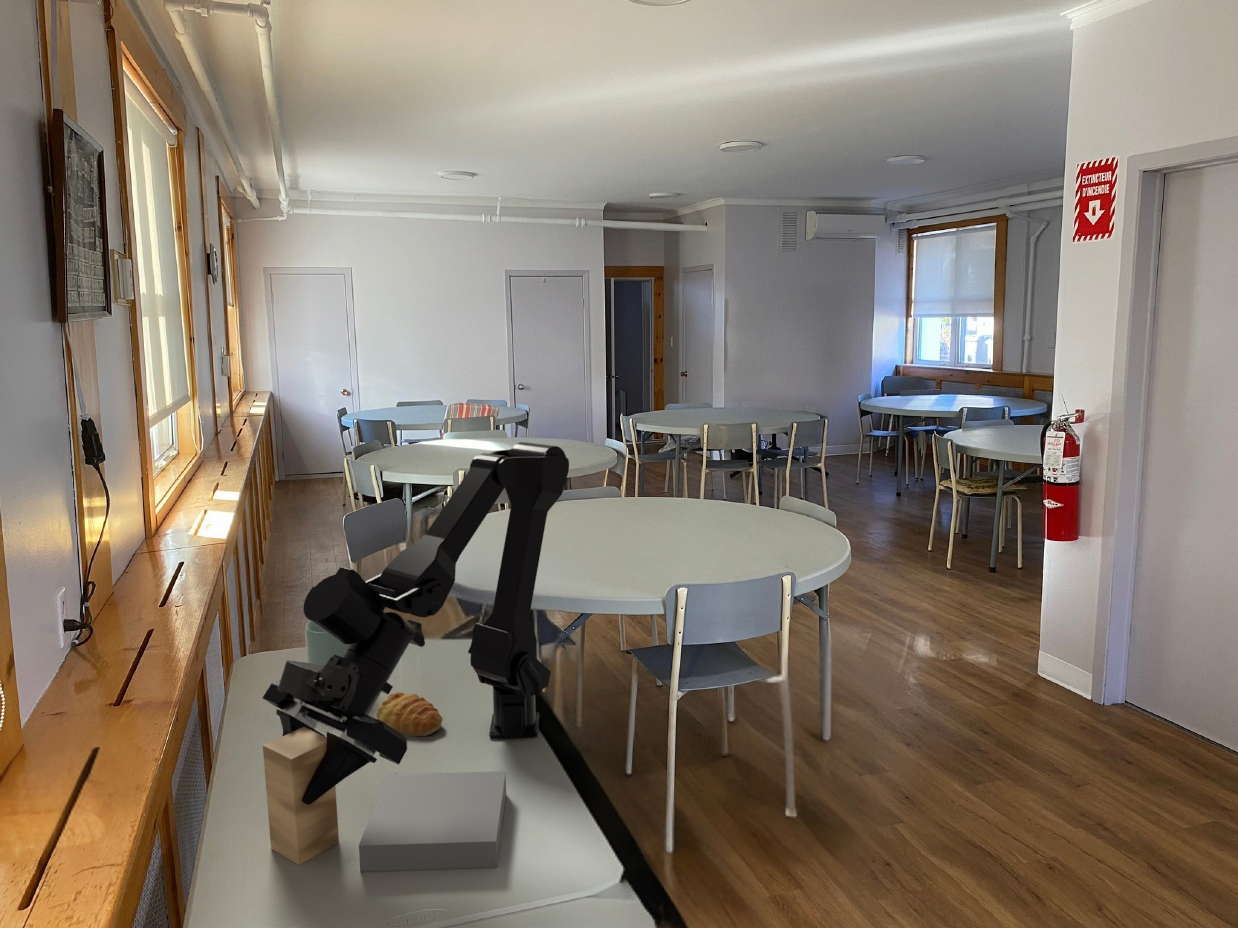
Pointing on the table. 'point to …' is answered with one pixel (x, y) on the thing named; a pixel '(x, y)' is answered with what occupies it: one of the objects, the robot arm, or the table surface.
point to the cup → (321, 645)
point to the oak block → (298, 797)
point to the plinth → (435, 822)
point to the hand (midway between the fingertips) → (289, 794)
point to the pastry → (409, 714)
